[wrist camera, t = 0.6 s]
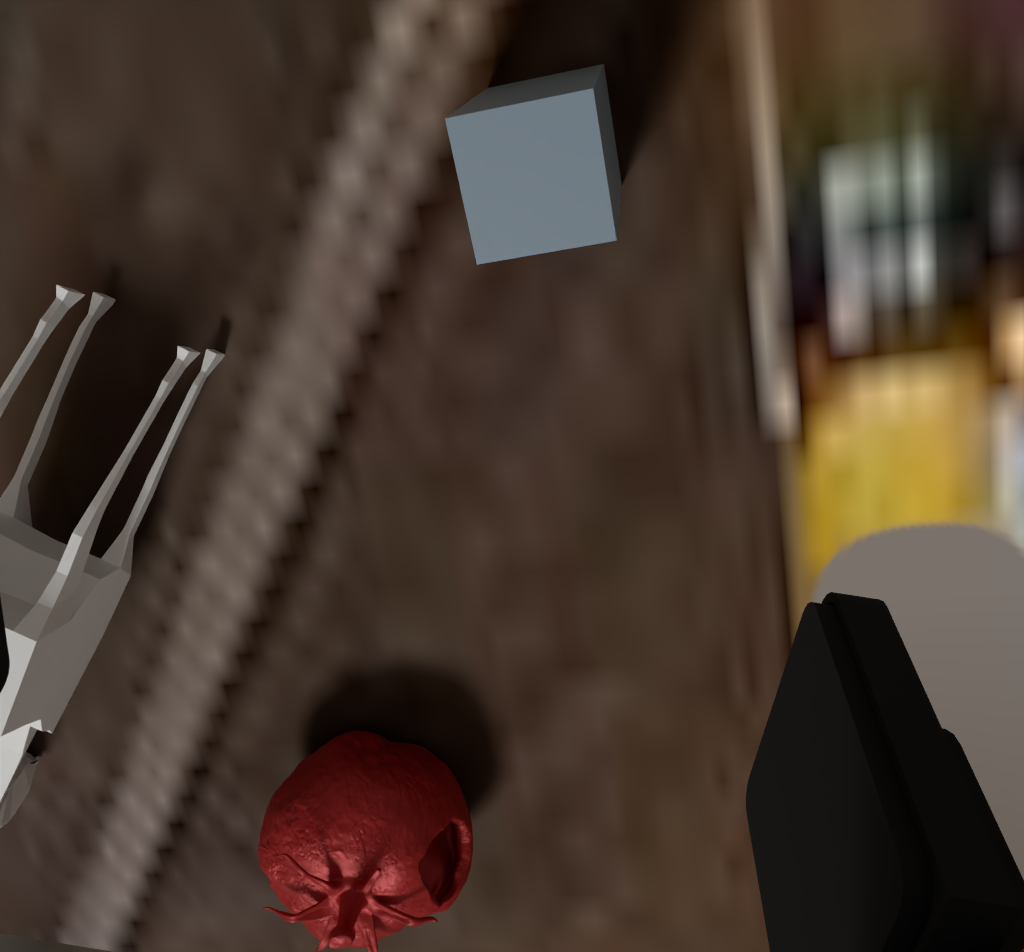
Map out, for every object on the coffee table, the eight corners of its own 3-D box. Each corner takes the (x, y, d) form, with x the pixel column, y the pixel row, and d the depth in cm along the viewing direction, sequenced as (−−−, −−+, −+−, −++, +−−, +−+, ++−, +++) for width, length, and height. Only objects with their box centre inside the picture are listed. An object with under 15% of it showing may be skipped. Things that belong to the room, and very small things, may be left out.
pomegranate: (259, 800, 50) (184, 961, 42) (340, 675, 46) (274, 829, 37) (425, 883, 51) (384, 1055, 43) (520, 770, 47) (494, 939, 39)
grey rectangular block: (604, 63, 32) (593, 88, 25) (621, 185, 34) (616, 240, 27) (487, 88, 33) (445, 118, 26) (510, 206, 35) (477, 264, 28)
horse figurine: (176, 303, 48) (-48, 773, 51) (16, 275, 30) (-320, 1002, 33) (276, 353, 49) (49, 816, 51) (176, 355, 31) (-165, 1064, 33)
